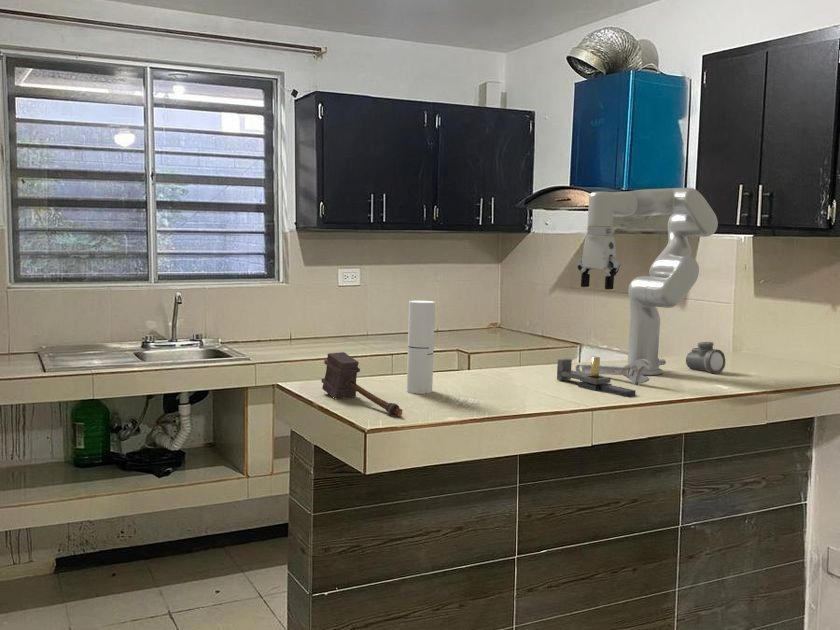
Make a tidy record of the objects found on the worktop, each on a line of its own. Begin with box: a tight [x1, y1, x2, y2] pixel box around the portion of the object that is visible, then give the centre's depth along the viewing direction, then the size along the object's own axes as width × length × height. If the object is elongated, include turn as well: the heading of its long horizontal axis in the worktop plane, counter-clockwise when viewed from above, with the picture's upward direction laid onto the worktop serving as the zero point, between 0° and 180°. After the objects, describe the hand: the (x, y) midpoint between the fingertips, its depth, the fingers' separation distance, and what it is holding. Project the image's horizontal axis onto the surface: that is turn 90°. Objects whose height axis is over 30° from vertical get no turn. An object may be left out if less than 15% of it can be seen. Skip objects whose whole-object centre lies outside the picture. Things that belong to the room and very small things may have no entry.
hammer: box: [321, 351, 404, 418], centre depth 204 cm, size 7×33×10 cm, turn 36°
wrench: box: [575, 359, 653, 386], centre depth 250 cm, size 8×2×30 cm
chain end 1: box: [556, 358, 611, 384], centre depth 239 cm, size 6×17×6 cm, turn 36°
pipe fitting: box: [685, 341, 726, 375], centre depth 270 cm, size 12×8×10 cm
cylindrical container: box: [406, 299, 436, 395], centre depth 222 cm, size 7×7×25 cm
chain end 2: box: [577, 381, 636, 398], centre depth 231 cm, size 7×17×1 cm, turn 36°
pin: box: [590, 356, 601, 385], centre depth 235 cm, size 2×2×9 cm
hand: (596, 288), depth 248 cm, fingers open, 9 cm apart
